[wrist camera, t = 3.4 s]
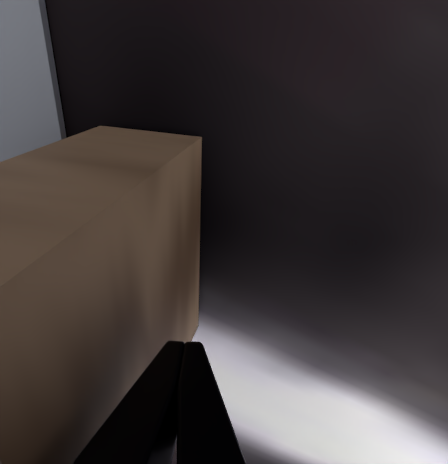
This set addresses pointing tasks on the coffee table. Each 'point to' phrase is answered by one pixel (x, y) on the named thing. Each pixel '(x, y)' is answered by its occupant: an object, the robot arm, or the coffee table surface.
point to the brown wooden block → (91, 279)
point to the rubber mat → (27, 80)
